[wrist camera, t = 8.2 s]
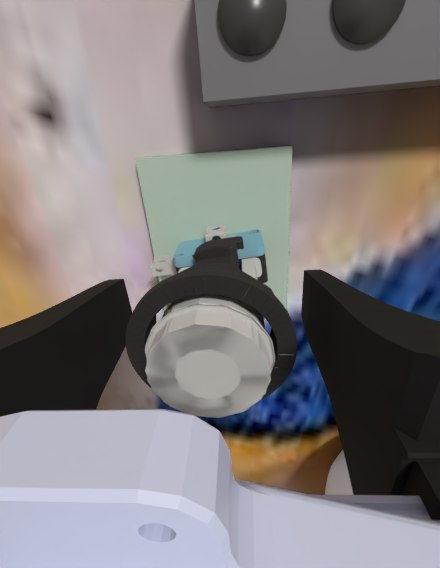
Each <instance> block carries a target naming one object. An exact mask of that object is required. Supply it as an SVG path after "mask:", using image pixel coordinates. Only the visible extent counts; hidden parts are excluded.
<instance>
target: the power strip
mask: <svg viewBox="0 0 440 568" xmlns="http://www.w3.org/2000/svg"><path fill="white" fill-rule="evenodd" d="M194 3H195V14H196V25H197V36H198V48H199V59H200V70H201V82H202V93H203V102H204V103H205V104H206V105H207V106H208V107H219V106H230V105H240V104H251V103H262V102H272V101H283V100H293V99H304V98H314V97H325V96H335V95H346V94H357V93H367V92H378V91H388V90H399V89H409V88H420V87H430V86H440V0H194Z"/></svg>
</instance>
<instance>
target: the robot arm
mask: <svg viewBox="0 0 440 568" xmlns="http://www.w3.org/2000/svg"><path fill="white" fill-rule="evenodd" d="M131 315H132V310H131V306H130V302H129V298H128V294H127V290H126V286H125V283H124V279H115V280H107V281H104V282H102V283H99V284H97V285H95V286H93V287H91V288H89V289H87V290H85V291H83V292H81V293H79V294H77V295H75V296H73V297H71V298H69V299H67V300H65V301H63V302H61V303H59V304H57V305H55V306H53V307H51V308H49V309H47V310H45V311H43V312H40V313H38V314H36V315H33V316H31V317H29V318H26V319H24V320H21V321H19V322H16V323H13V324H11V325H8V326H5V327H2V328H0V568H440V322H439V321H435V320H432V319H429V318H425V317H422V316H419V315H416V314H413V313H410V312H407V311H404V310H402V309H399V308H396V307H394V306H391V305H389V304H386V303H384V302H382V301H379V300H377V299H375V298H373V297H371V296H369V295H367V294H365V293H363V292H361V291H359V290H357V289H355V288H353V287H351V286H350V285H348V284H346V283H344V282H343V281H341V280H339V279H337V278H336V277H334V276H332V275H330V274H329V273H327V272H325V271H322V270H304V281H303V297H302V314H301V315H302V320H303V324H304V329H305V333H306V336H307V339H308V342H309V344H310V347H311V349H312V352H313V354H314V357H315V359H316V362H317V364H318V367H319V369H320V372H321V374H322V377H323V379H324V382H325V385H326V388H327V391H328V394H329V397H330V401H331V405H332V408H333V412H334V416H335V419H336V423H337V427H338V431H339V435H340V439H341V443H342V447H343V451H344V456H345V460H346V464H347V468H348V473H349V477H350V481H351V486H352V491H353V495H328V494H305V493H301V492H296V491H291V490H287V489H282V488H277V487H273V486H268V485H264V484H259V483H254V482H250V481H245V480H240V479H236V478H234V476H233V473H232V465H231V455H230V450H229V448H228V446H227V444H226V442H225V440H224V439H223V437H222V435H221V433H220V431H219V430H217V429H216V428H214V427H213V426H211V425H210V424H208V423H206V422H205V421H203V420H201V419H200V418H198V417H196V416H195V415H193V414H189V413H183V412H177V411H172V410H166V409H113V410H96V407H97V405H98V402H99V399H100V397H101V395H102V392H103V390H104V388H105V386H106V384H107V382H108V380H109V378H110V376H111V374H112V372H113V370H114V368H115V366H116V364H117V362H118V360H119V358H120V356H121V354H122V352H123V350H124V348H125V346H126V330H127V325H128V322H129V319H130V317H131Z"/></svg>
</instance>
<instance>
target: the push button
mask: <svg viewBox="0 0 440 568" xmlns="http://www.w3.org/2000/svg"><path fill="white" fill-rule="evenodd" d="M216 228H220V229H217V230H213V229H216ZM170 254H171V255H167V256H160V257H155V258H154V259H153V260H154V263H151V264H150V265H149V266H150V270H151V273H152V276H154V277H155V276H163V275H170V274H171V275H172V276H171V277H169V278H167V279H164V280H162V281H161V282H159V283H158V284H157V285H156V286H154V287H153V288H152V289H150V290H149V291H148V292H147V293H146V294H145V295H144V296H143V297H142V299H141V300H140V301H139V303H138V304H137V306H136V308H135V309H134V311H133V313H132V315H131V317H130V319H129V322H128V325H127V330H126V348H127V353H128V356H129V359H130V361H131V363H132V366H133V367H134V369H135V371H136V372H137V374H138V375H139V376H140V377H141V379H142V380H143V381H144V382H145V383H146V384H147V385H148V386H149V387H151V388H152V390H153V391H154V392H155V393H156V394H157V395H158V396H159V397H160V398H161V399H162V401H163V402H165V403H167V404H168V405H169V406H170V407H173V408H175V409H178V410H180V411H183V412H185V413H189V414H193V415H195V416H203V417H216V418H220V417H224V416H228V415H232V414H236V413H240V412H243V411H245V410H247V409H248V408H249V407H251V406H252V405H253V404H255V403H256V402H258V401H259V400H261V399H263V398H265V397H266V396H268V395H270V394H271V393H272V392H274V391H275V390H276V389H277V388H278V387H279V386H280V385H281V384H282V383H283V382H284V381H285V379H286V378H287V377H288V375H289V374H290V372H291V370H292V368H293V365H294V362H295V358H296V354H297V339H296V334H295V330H294V326H293V323H292V321H291V318H290V316H289V314H288V312H287V310H286V309H285V307H284V306H283V304H282V303H281V302H280V301H279V299H278V298H277V297H276V296H275V295H274V293H273V291H272V289H271V288H270V287H268V286H267V285H265V284H263V283H266V282H267V281H268V275H267V266H266V257H265V248H264V242H263V238H262V234H261V230H249V231H247V232H240V233H234V234H227V235H226V225H224V224H223V225H217V226H210V227H208V228H207V230H206V234H205V238H201V239H195V240H188V241H183V242H181V243H180V244H179V245H178V247H177V249H176V251H175V252H171V253H170ZM160 260H165V262H160ZM156 269H157V270H161V269H163V271H162V272H158V271H157V270H156ZM166 305H167V307H166V310H165V312H164V315H163V317H162V319H161V320H160V321H158V322H157V323H156V314H157V313H158V312H159V311H160V310H161V309H162V308H164V307H165V306H166ZM263 316H264V317H265V319H266V320H267V321H268V322H269V324H270V325H271V327H272V329H271V333H270V336H269V335H268V333H267V332H266V331H265V325H264V319H263Z"/></svg>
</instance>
